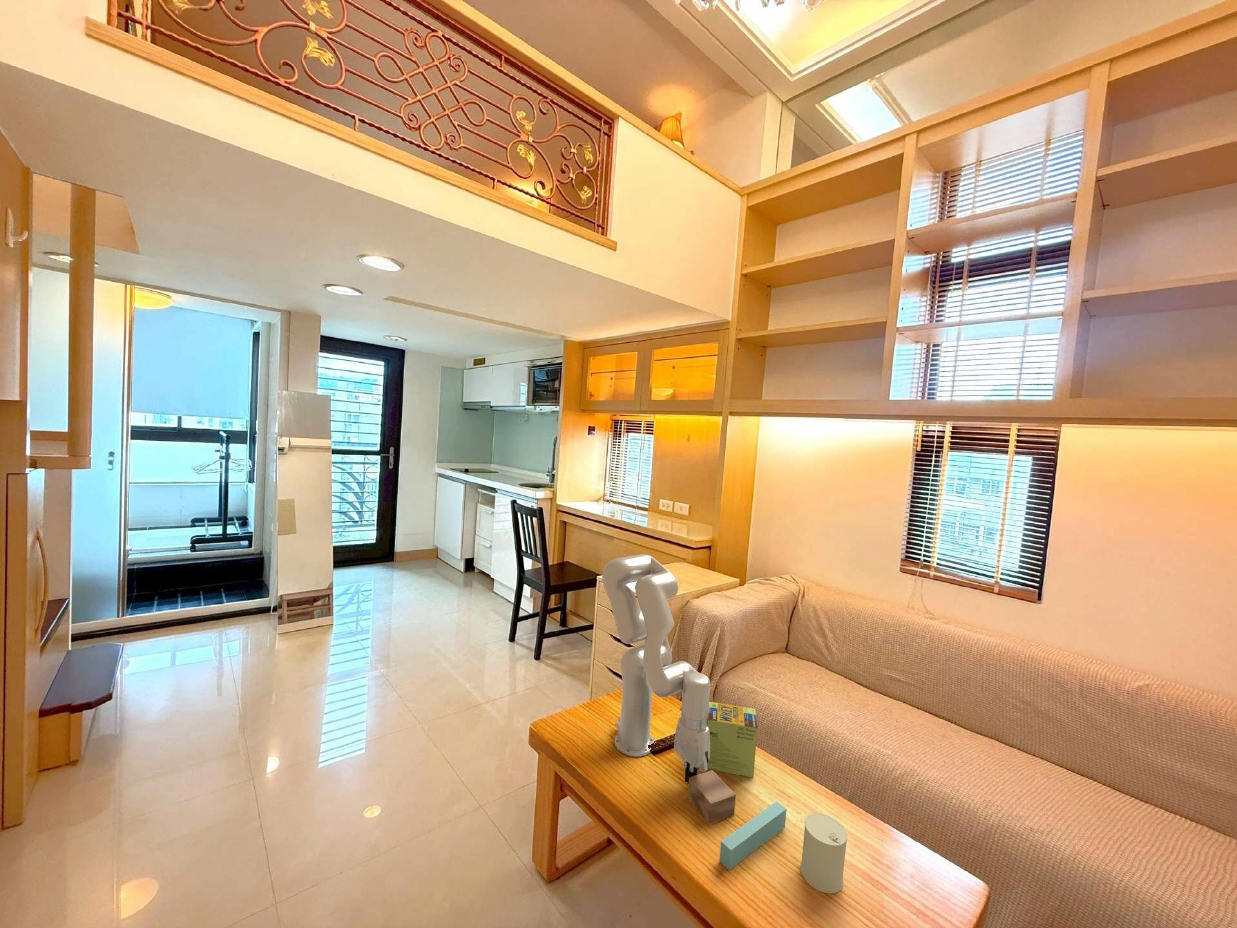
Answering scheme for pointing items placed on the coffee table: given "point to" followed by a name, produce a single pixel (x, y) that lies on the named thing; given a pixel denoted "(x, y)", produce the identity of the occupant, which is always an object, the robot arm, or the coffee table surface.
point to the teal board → (752, 835)
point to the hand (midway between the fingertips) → (690, 780)
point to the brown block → (711, 796)
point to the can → (823, 853)
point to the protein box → (732, 738)
